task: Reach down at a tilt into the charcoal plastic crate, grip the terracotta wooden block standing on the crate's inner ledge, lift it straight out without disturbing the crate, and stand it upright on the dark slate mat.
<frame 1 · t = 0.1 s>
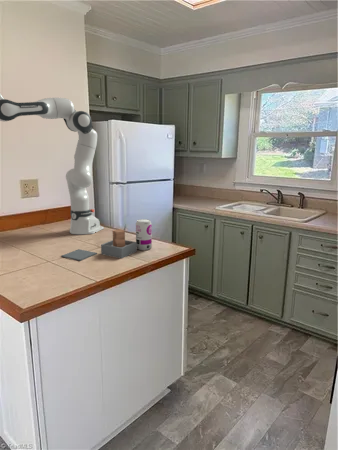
supplement can: (143, 248, 176), on the countertop
mat: (79, 255, 163), on the countertop
block: (119, 246, 167), point 4 cm above the countertop, touching crate
crate: (119, 253, 168), on the countertop, touching block
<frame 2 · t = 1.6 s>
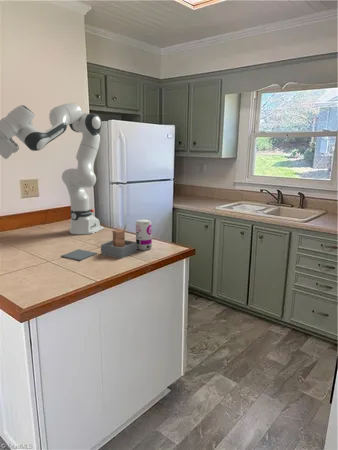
block: (118, 246, 167), point 4 cm above the countertop
crate: (119, 253, 168), on the countertop
everything else where it was.
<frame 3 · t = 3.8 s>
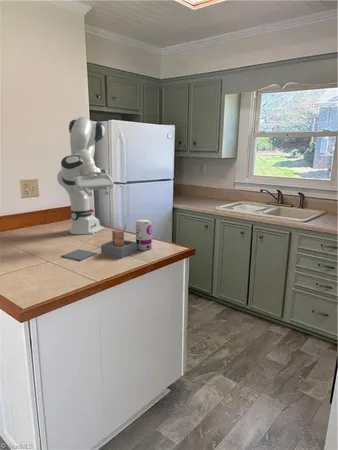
hand: (98, 194, 175), 28 cm above the countertop, tool tilted 45°, fingers open, 8 cm apart
block: (118, 246, 167), point 4 cm above the countertop, touching crate
crate: (119, 253, 168), on the countertop, touching block
everything else where it was.
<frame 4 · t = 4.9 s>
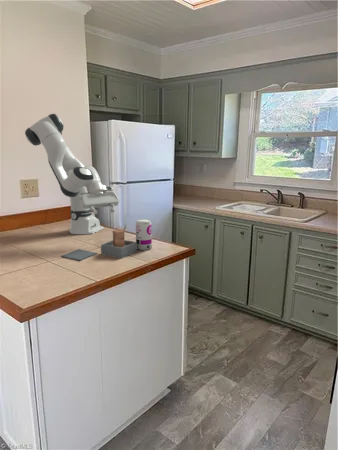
hand: (104, 212, 174), 19 cm above the countertop, tool tilted 45°, fingers open, 8 cm apart
nothing on the countertop moved.
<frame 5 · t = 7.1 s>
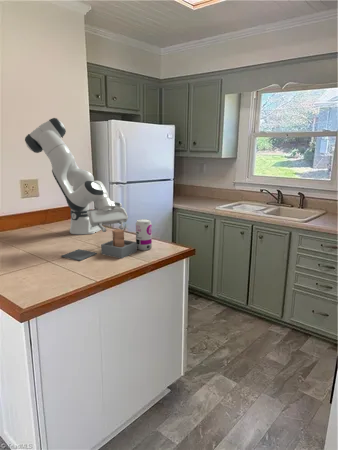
hand: (113, 230, 168), 11 cm above the countertop, tool tilted 45°, fingers open, 8 cm apart
block: (118, 245, 167), point 4 cm above the countertop
crate: (119, 253, 168), on the countertop
everything else where it was.
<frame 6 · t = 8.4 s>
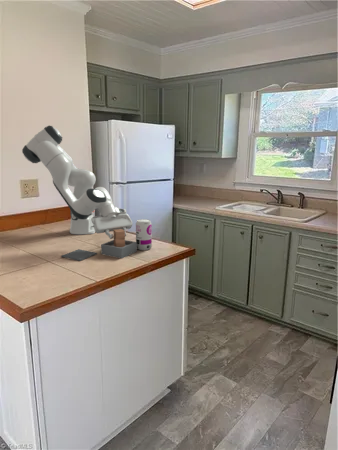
hand: (118, 237, 166), 8 cm above the countertop, tool tilted 45°
block: (119, 245, 167), point 4 cm above the countertop, touching gripper
everything else where it was.
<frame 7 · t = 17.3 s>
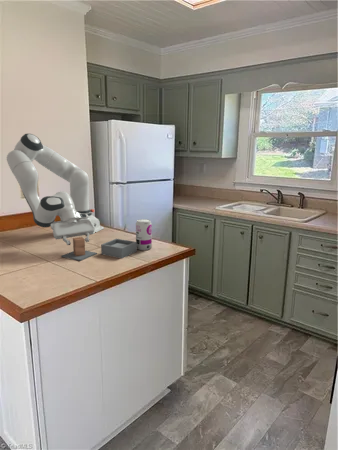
hand: (78, 242, 162), 6 cm above the countertop, tool tilted 45°, fingers open, 8 cm apart
block: (79, 254, 163), point 1 cm above the countertop, touching mat
everything else where it was.
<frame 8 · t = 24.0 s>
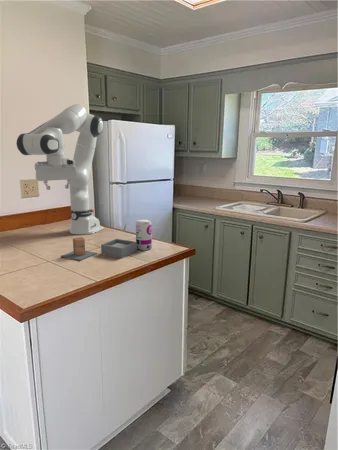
hand: (57, 189, 168), 31 cm above the countertop, tool pointing down, fingers open, 8 cm apart
nothing on the countertop moved.
at the end: block inside the target area on the mat (0.0 cm from its centre), point 0.6 cm above the mat's base; block tilted 0°; crate moved 0.4 cm from its start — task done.
